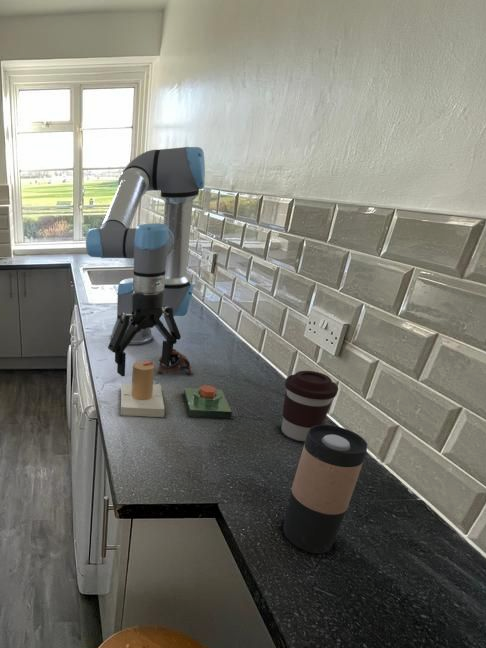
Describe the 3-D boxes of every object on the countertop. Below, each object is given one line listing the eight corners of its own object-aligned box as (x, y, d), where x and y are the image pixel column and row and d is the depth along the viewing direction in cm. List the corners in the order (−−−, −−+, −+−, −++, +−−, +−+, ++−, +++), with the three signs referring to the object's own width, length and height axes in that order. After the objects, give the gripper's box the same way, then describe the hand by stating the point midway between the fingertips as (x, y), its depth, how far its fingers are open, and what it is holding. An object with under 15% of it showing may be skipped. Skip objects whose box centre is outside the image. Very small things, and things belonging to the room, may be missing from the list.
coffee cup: (317, 425, 97) (333, 369, 91) (328, 449, 89) (346, 389, 83) (271, 419, 100) (284, 365, 94) (278, 442, 92) (292, 384, 86)
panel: (121, 390, 118) (121, 382, 117) (159, 392, 116) (160, 383, 115) (120, 415, 106) (121, 406, 104) (163, 417, 104) (164, 408, 102)
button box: (183, 394, 114) (184, 382, 112) (220, 396, 112) (222, 383, 111) (189, 416, 103) (191, 403, 102) (230, 419, 102) (233, 405, 100)
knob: (138, 401, 106) (140, 370, 103) (127, 392, 111) (128, 362, 107) (156, 397, 108) (158, 366, 104) (144, 388, 113) (146, 358, 109)
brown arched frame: (196, 380, 123) (187, 361, 118) (166, 390, 126) (157, 373, 122) (188, 356, 132) (179, 338, 127) (160, 366, 135) (151, 349, 131)
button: (198, 390, 108) (199, 384, 108) (213, 391, 108) (214, 385, 107) (200, 397, 105) (201, 391, 104) (216, 398, 104) (217, 392, 103)
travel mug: (271, 521, 71) (296, 426, 63) (312, 517, 72) (342, 422, 63) (299, 557, 64) (331, 456, 56) (345, 552, 65) (383, 451, 56)
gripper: (109, 302, 91) (108, 384, 100) (200, 287, 98) (191, 365, 107) (95, 294, 97) (95, 372, 106) (181, 281, 104) (174, 355, 114)
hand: (143, 369), depth 107 cm, fingers open, 13 cm apart
